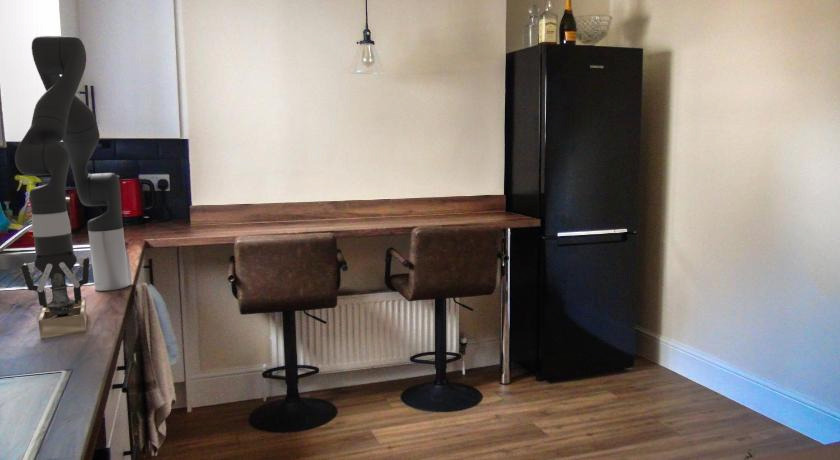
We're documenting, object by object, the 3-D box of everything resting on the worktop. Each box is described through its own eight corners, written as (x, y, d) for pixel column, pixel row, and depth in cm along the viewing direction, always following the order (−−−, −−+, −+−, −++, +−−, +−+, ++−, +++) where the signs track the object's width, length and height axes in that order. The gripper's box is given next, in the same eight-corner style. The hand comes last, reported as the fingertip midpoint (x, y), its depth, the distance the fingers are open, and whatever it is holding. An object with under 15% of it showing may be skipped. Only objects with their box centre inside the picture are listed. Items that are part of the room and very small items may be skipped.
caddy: (46, 319, 166) (44, 303, 166) (86, 314, 170) (85, 298, 170) (40, 338, 151) (38, 321, 150) (85, 331, 155) (83, 314, 154)
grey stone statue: (82, 316, 158) (76, 265, 156) (58, 323, 153) (51, 270, 151) (67, 313, 161) (61, 263, 159) (42, 320, 156) (36, 268, 154)
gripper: (13, 238, 147) (23, 313, 150) (87, 231, 153) (95, 304, 156) (17, 233, 154) (27, 306, 156) (87, 227, 160) (96, 297, 162)
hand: (61, 304), depth 156 cm, fingers closed on grey stone statue, 6 cm apart
